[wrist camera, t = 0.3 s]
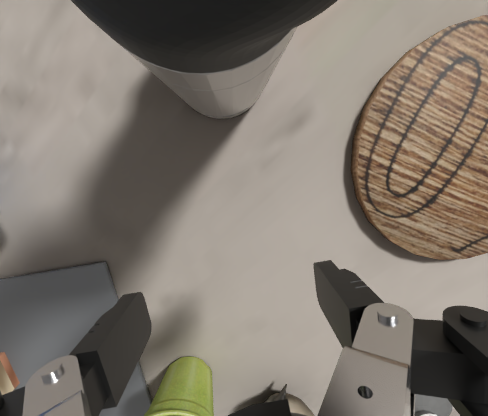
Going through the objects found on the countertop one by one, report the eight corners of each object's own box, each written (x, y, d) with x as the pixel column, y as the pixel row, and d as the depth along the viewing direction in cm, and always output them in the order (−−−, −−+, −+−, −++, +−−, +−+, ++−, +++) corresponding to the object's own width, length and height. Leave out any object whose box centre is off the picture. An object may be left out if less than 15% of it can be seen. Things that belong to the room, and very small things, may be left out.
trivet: (616, 81, 27) (644, 76, 25) (486, 278, 33) (501, 286, 31) (420, -22, 24) (436, -35, 22) (313, 214, 29) (318, 219, 28)
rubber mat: (-104, 296, 30) (-109, 298, 29) (105, 261, 29) (103, 263, 29) (-18, 442, 36) (-22, 447, 35) (156, 414, 35) (155, 418, 35)
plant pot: (153, 399, 35) (128, 480, 26) (154, 343, 33) (126, 412, 24) (221, 401, 35) (217, 481, 27) (226, 346, 33) (223, 415, 25)
